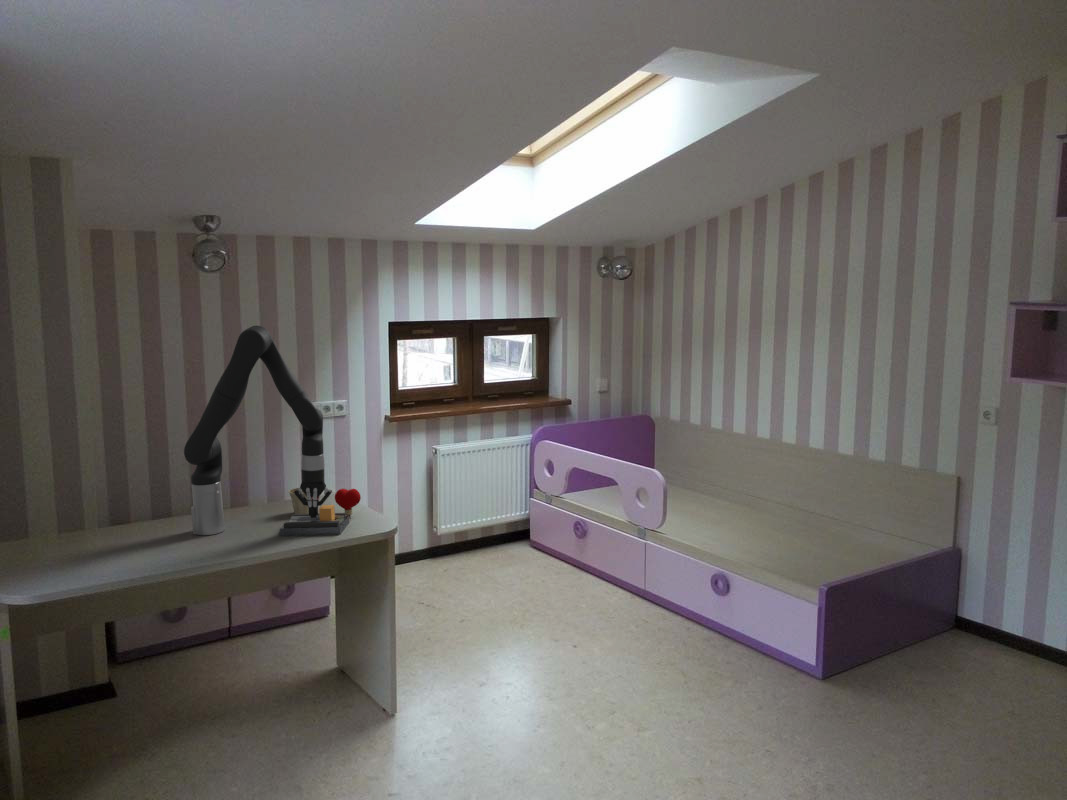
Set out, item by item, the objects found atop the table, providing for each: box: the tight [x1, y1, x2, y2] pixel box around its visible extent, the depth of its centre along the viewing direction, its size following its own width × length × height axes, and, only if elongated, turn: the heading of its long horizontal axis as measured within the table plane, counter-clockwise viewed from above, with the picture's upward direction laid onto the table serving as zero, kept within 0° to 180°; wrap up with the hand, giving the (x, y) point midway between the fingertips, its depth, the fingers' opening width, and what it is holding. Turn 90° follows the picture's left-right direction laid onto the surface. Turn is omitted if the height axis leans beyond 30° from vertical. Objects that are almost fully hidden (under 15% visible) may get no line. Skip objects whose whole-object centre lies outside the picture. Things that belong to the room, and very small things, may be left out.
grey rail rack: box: [283, 512, 347, 528], centre depth 277 cm, size 18×12×1 cm, turn 90°
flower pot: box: [287, 487, 309, 514], centre depth 298 cm, size 9×9×9 cm
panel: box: [279, 515, 350, 537], centre depth 277 cm, size 20×14×4 cm
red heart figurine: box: [334, 488, 362, 517], centre depth 292 cm, size 9×7×10 cm
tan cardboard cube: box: [318, 504, 336, 521], centre depth 277 cm, size 4×5×5 cm
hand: (313, 517), depth 277 cm, fingers closed
